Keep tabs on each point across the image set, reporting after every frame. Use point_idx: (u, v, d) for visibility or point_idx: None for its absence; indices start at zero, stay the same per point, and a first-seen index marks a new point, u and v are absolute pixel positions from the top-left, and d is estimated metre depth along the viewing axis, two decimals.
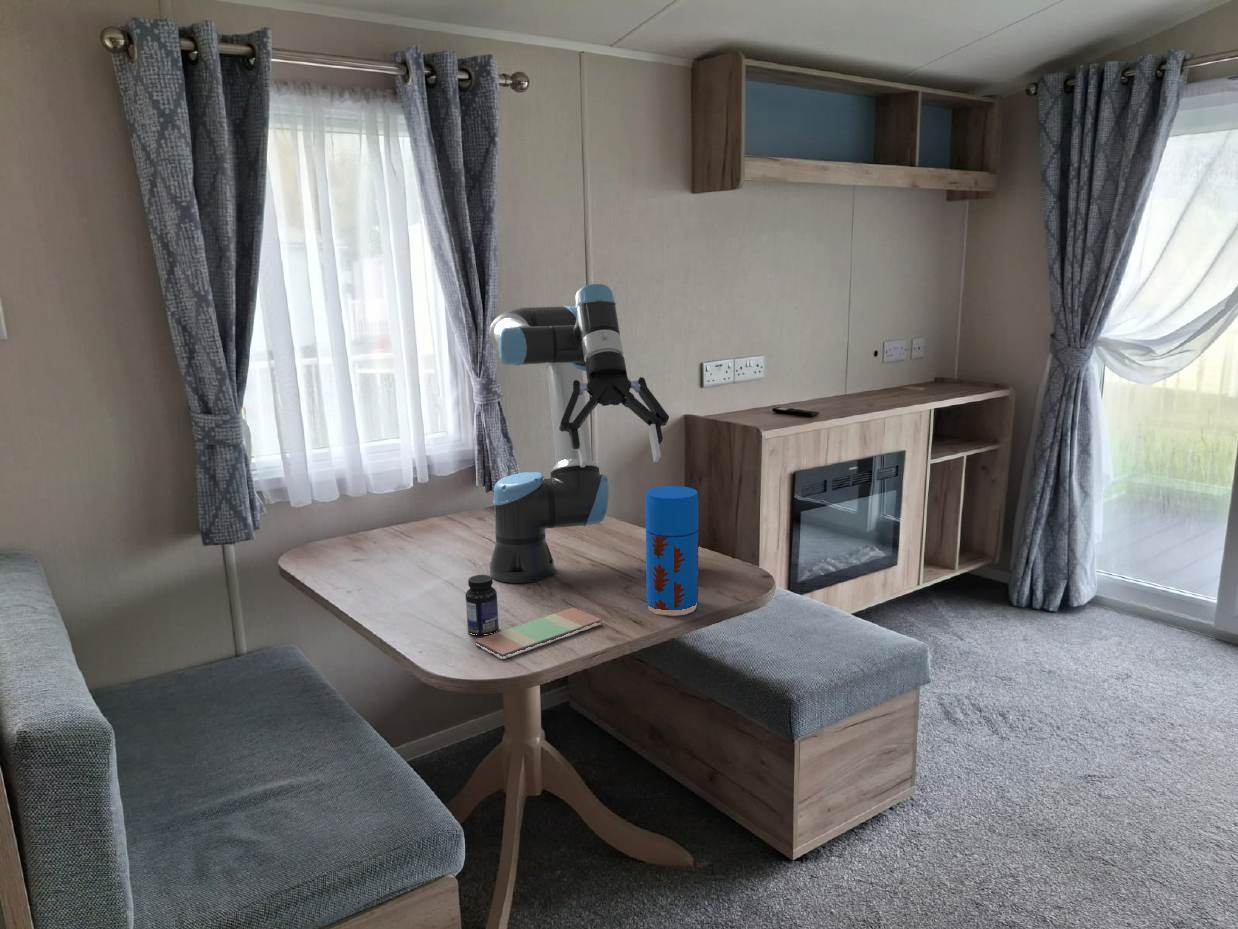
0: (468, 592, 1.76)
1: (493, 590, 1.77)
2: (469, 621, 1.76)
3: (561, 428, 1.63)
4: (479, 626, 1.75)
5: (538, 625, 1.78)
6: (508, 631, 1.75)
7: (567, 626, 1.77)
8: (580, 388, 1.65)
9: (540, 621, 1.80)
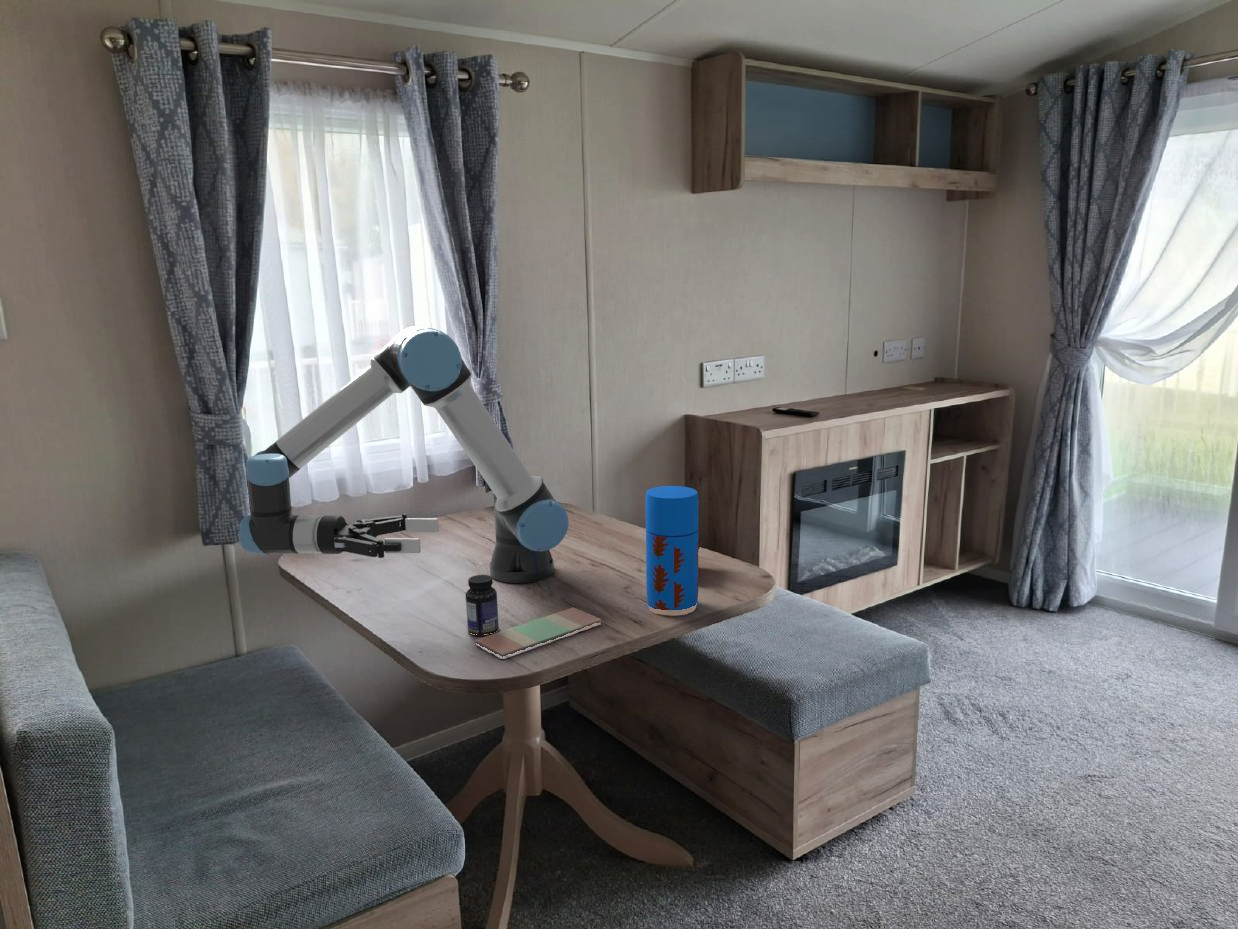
0: (468, 592, 1.76)
1: (493, 590, 1.77)
2: (469, 621, 1.76)
3: None
4: (479, 626, 1.75)
5: (538, 625, 1.78)
6: (508, 631, 1.75)
7: (567, 626, 1.77)
8: None
9: (540, 621, 1.80)
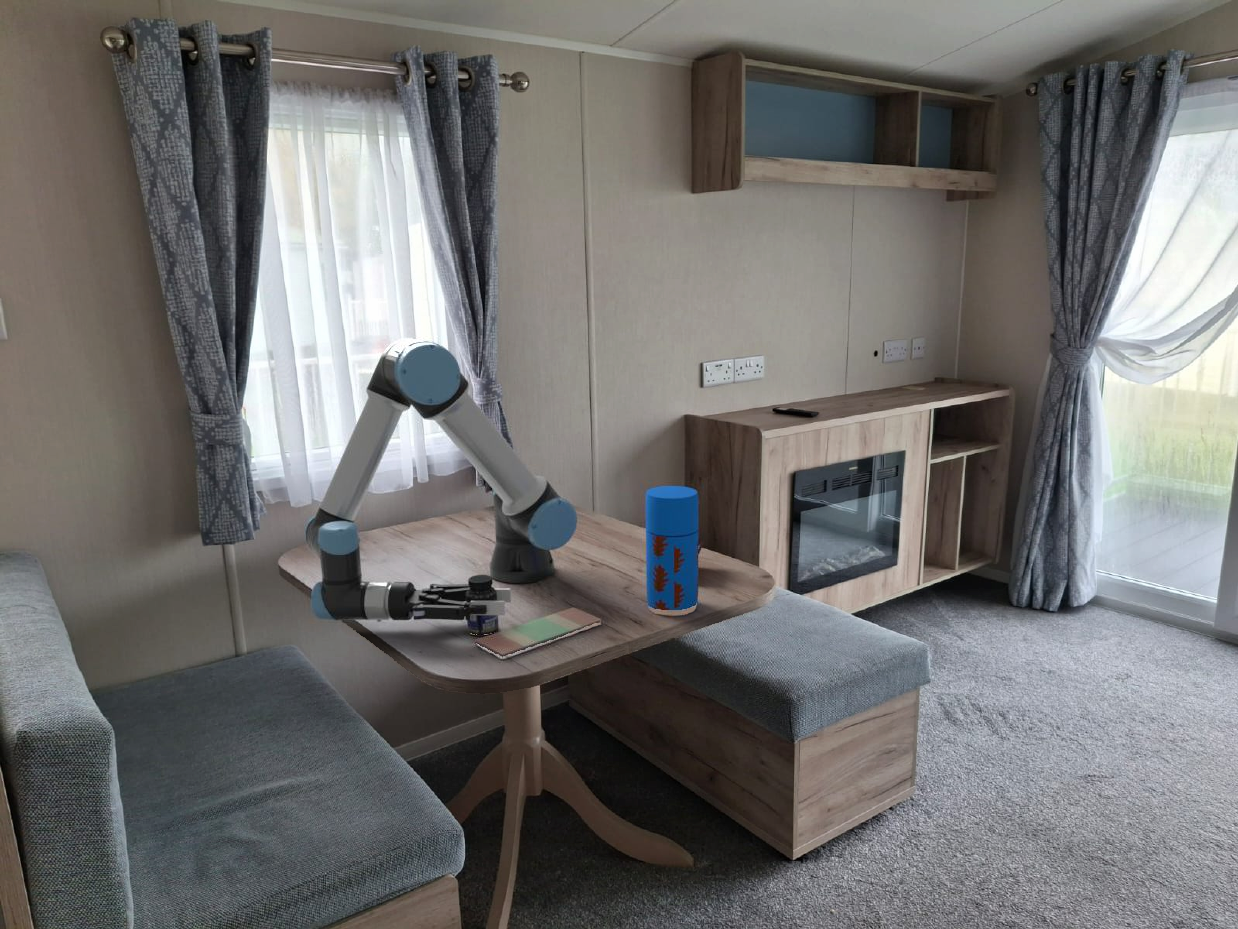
0: (468, 592, 1.76)
1: (493, 590, 1.77)
2: (469, 621, 1.76)
3: None
4: (479, 626, 1.75)
5: (538, 625, 1.78)
6: (508, 631, 1.75)
7: (567, 626, 1.77)
8: None
9: (540, 621, 1.80)
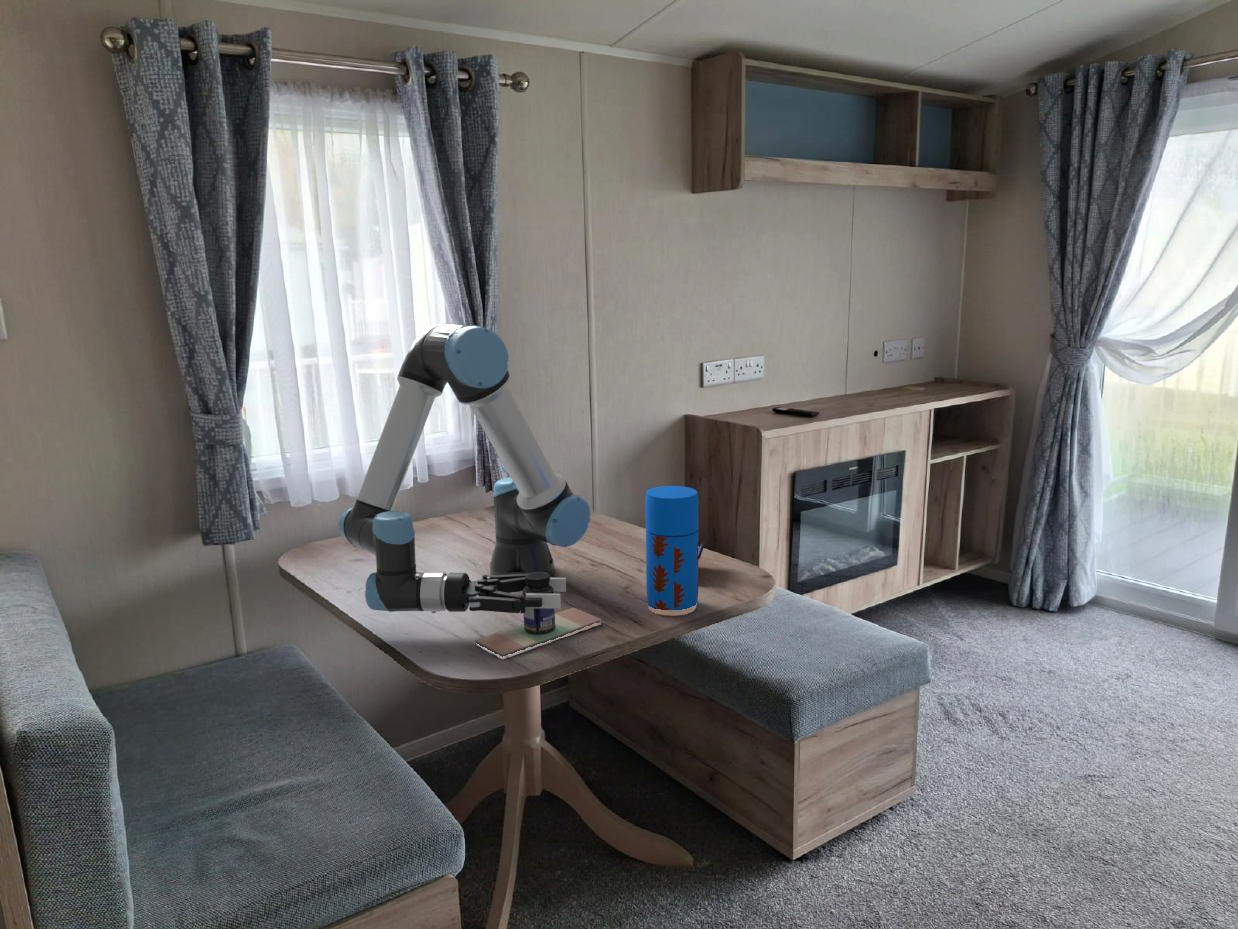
0: (525, 589, 1.73)
1: (550, 587, 1.74)
2: (526, 619, 1.74)
3: None
4: (537, 624, 1.73)
5: None
6: (508, 631, 1.75)
7: (567, 626, 1.77)
8: None
9: None
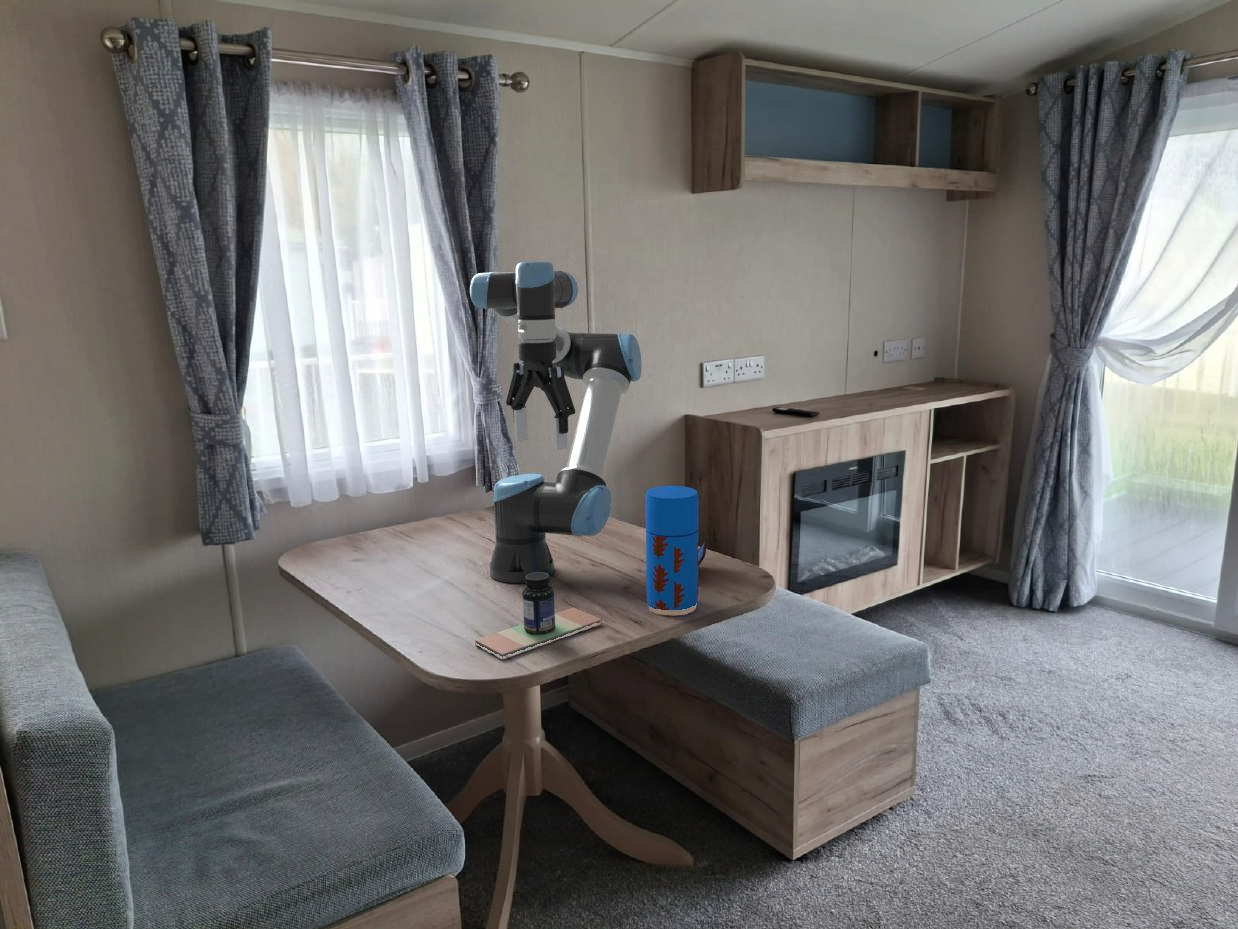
0: (525, 590, 1.73)
1: (550, 588, 1.74)
2: (526, 619, 1.74)
3: None
4: (536, 625, 1.73)
5: None
6: (508, 631, 1.75)
7: (567, 626, 1.77)
8: (517, 371, 1.85)
9: None
